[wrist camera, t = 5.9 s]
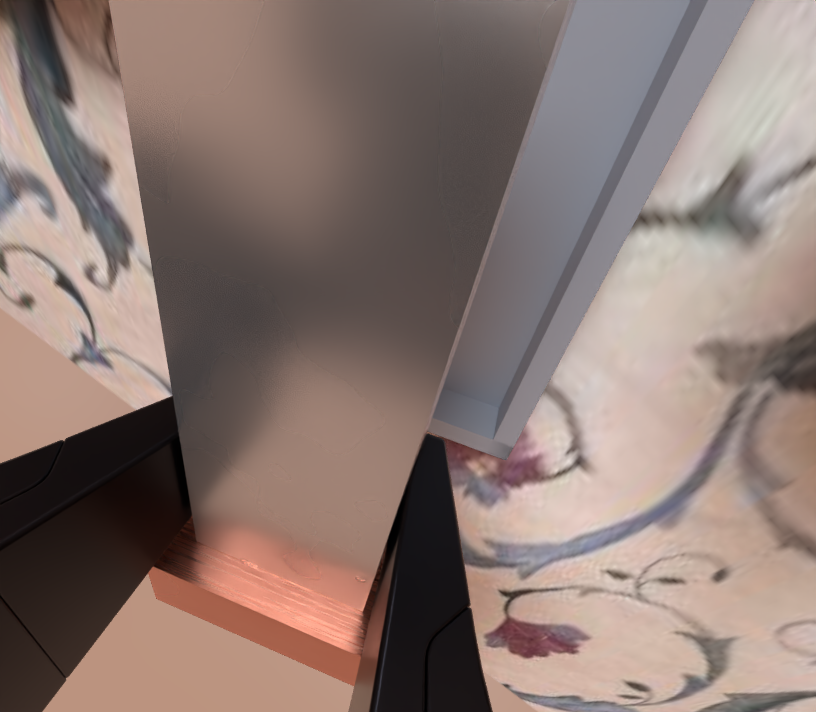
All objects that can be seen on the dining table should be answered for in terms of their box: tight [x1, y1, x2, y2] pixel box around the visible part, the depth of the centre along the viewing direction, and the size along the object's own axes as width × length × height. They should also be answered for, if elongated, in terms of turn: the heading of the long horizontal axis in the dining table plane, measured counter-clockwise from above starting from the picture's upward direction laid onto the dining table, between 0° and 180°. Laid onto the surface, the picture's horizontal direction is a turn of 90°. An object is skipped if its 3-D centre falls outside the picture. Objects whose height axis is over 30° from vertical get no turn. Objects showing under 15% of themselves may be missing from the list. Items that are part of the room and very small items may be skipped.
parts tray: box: [428, 0, 754, 460], centre depth 13 cm, size 10×20×2 cm, turn 167°
